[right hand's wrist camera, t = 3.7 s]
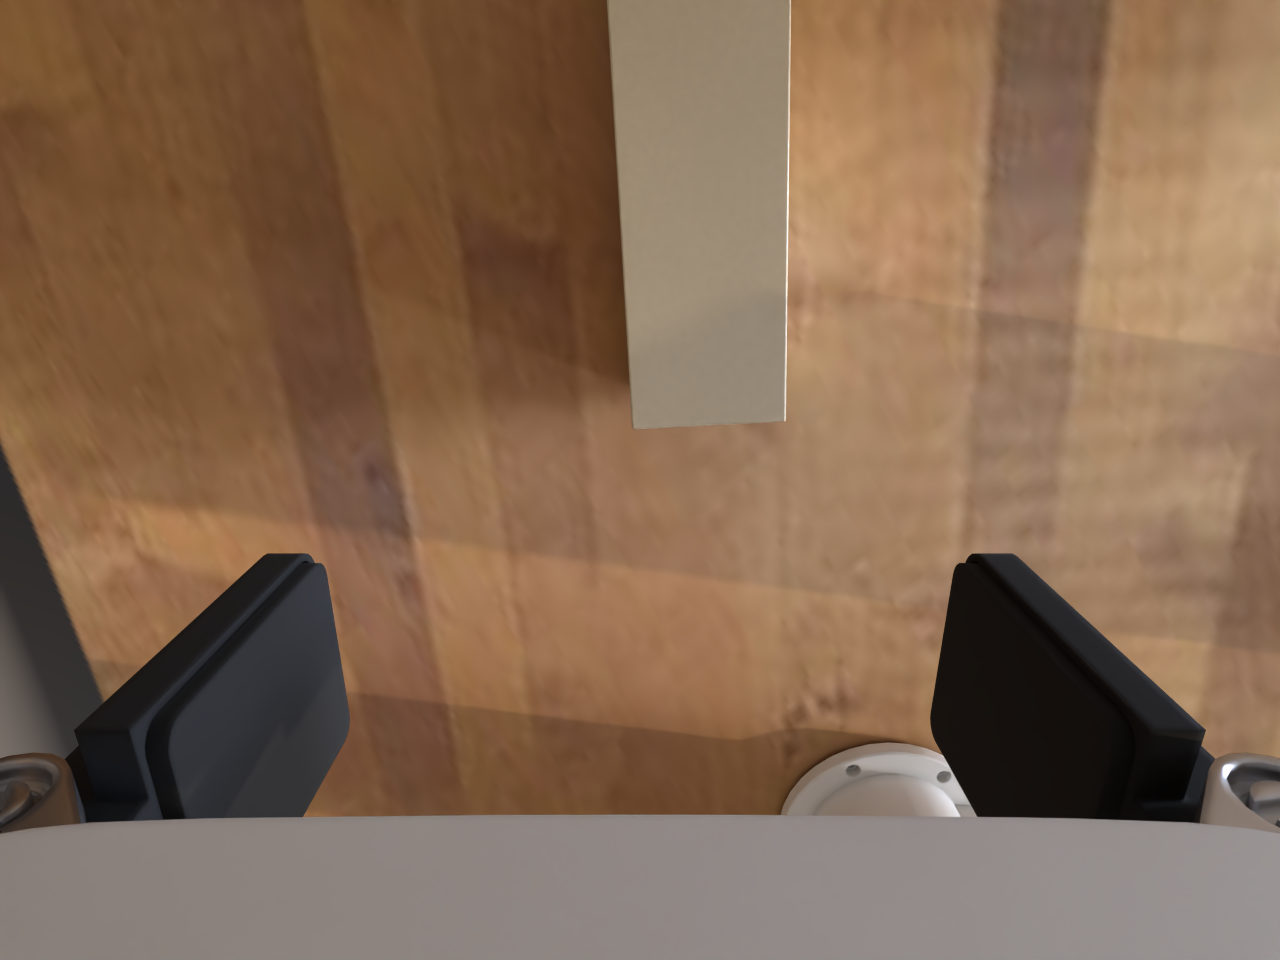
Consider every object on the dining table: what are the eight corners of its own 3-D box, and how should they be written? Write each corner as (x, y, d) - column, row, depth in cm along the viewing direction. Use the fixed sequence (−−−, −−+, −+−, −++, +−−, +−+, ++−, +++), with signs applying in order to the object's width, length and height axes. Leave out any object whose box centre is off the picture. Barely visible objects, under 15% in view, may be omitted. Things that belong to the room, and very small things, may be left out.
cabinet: (605, -109, 31) (593, -214, 23) (757, -119, 30) (794, -227, 23) (633, 387, 38) (632, 430, 30) (757, 380, 38) (786, 422, 30)
